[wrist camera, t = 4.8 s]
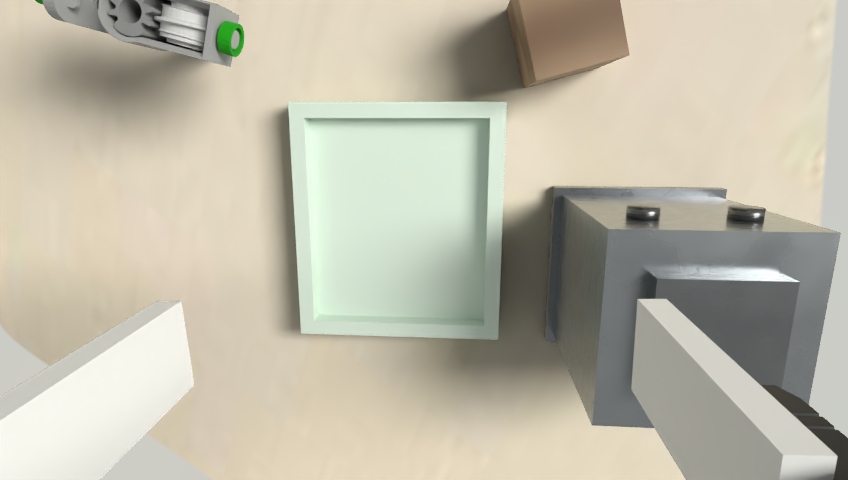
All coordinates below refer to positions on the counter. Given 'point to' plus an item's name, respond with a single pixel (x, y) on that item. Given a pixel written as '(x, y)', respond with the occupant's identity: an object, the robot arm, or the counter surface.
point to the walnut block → (565, 36)
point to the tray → (398, 217)
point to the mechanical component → (159, 24)
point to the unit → (682, 286)
